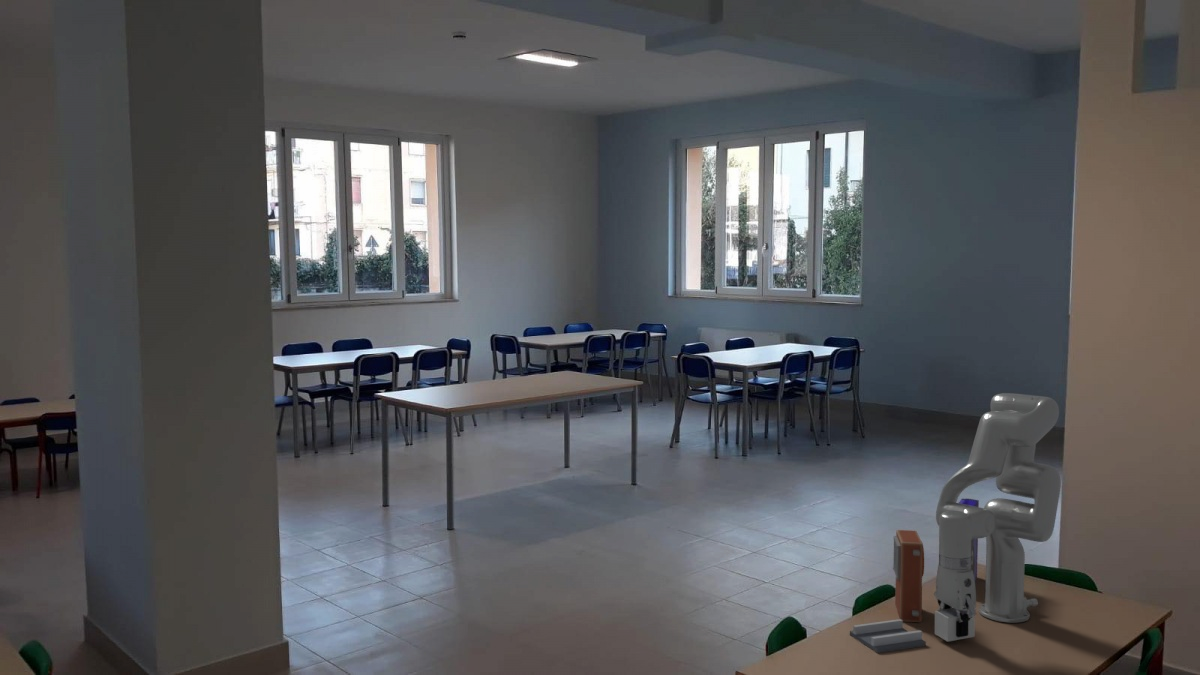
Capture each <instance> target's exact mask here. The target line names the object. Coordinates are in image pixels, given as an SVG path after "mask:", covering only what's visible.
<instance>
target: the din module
mask: <svg viewBox="0 0 1200 675" xmlns="http://www.w3.org/2000/svg"><path fill="white" fill-rule="evenodd" d="M961 613H962V615H963V614H964V611H961ZM975 616H976V615H975ZM975 616H973V617H972V618H971V619H970V621H968V636H963V637H957V636H956V621H958V617H957V612H956V609H955V608H953V607H952V608H950V609H944V610H940V609H938V610H935V611H934V635H935V636H938V637H939V638H941V639H942V640H944V641H946V642H954V641H957V640H958V641H959V640H964V639H969V638H975V633H976V632H975V631H976V628H975V626H976V625H975V623H976V622H975V620H976V619H975Z"/></svg>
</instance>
